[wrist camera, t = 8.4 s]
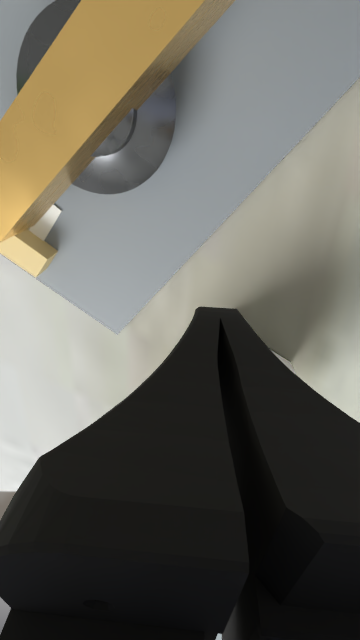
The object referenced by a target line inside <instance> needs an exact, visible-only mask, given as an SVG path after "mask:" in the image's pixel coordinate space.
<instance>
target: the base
mask: <svg viewBox="0 0 360 640" xmlns="http://www.w3.org/2000/svg"><path fill="white" fill-rule="evenodd" d="M54 1H56V0H0V120H1V119H2V117H3V116H4V114H5V113H6V111H7V110H8V109H9V107H10V106H11V104H12V103H13V101H14V100H15V98H16V97H17V80H16V73H17V62H18V57H19V52H20V48H21V45H22V42H23V39H24V36H25V34H26V32H27V30H28V29H29V27H30V25H31V23H32V22H33V21H34V19H35V18H36V17H37V15H38V14H39V13H40V12H41V11H42V10H43V9H44V8H45V7H46V6H48V5H49V4H51V3H52V2H54ZM171 75H172V78H173V82H174V87H175V93H176V104H177V110H176V125H175V132H174V136H173V140H172V143H171V146H170V149H169V151H168V153H167V155H166V157H165V159H164V161H163V163H162V164H161V166H160V167H159V168H158V170H157V171H156V172H155V173H154V174H153V175H152V176H151V177H150V178H149V179H148V180H147V181H145V182H144V183H143V184H141V185H139V186H138V187H136V188H134V189H132V190H129V191H127V192H123V193H119V194H98V193H92V192H89V191H86V190H83V189H81V188H79V187H77V186H74V185H73V184H71V185H70V186H69V187H68V189H67V190H66V191H65V192H64V193H63V194H62V195H61V196H60V197H59V199H58V200H57V201H56V202H55V203H54V204H53V205H52V206H51V208H50V209H49V210H48V211H47V212H46V213H45V214H44V215H43V217H42V218H41V219H40V220H39V221H38V222H37V223H36V224H35V225H34V226H32V227H30V228H28V229H26V230H24V231H22V232H20V233H18V234H16V235H14V236H12V237H10V238H8V239H7V240H5V241H3V242H1V243H0V254H1V255H2V256H4V257H5V258H7V259H8V260H10V261H11V262H13V263H14V264H15V265H17V266H18V267H20V268H21V269H23V270H24V271H26V272H27V273H28V274H30V275H31V276H33V277H34V278H36V279H37V280H39V281H40V282H42V283H43V284H44V285H46V286H47V287H49V288H50V289H52V290H53V291H55V292H56V293H58V294H59V295H60V296H62V297H63V298H65V299H66V300H68V301H69V302H71V303H72V304H73V305H75V306H76V307H78V308H79V309H81V310H82V311H84V312H85V313H87V314H88V315H89V316H91V317H92V318H94V319H95V320H97V321H98V322H100V323H101V324H102V325H104V326H105V327H107V328H108V329H110V330H111V331H113V332H114V333H116V334H118V333H119V332H120V331H121V330H122V329H123V328H124V327H125V326H126V325H127V324H128V323H129V322H130V321H131V320H132V318H133V317H134V316H135V315H136V314H137V313H138V312H139V311H140V310H141V309H142V308H143V307H144V306H145V305H146V304H147V303H148V301H149V300H150V299H151V298H152V297H153V296H154V295H155V294H156V293H157V292H158V291H159V290H160V289H161V288H162V287H163V286H164V284H165V283H166V282H167V281H168V280H169V279H170V278H171V277H172V276H173V275H174V274H175V273H176V272H177V271H178V270H179V269H180V267H181V266H182V265H183V264H184V263H185V262H186V261H187V260H188V259H189V258H190V257H191V256H192V255H193V254H194V253H195V252H196V250H197V249H198V248H199V247H200V246H201V245H202V244H203V243H204V242H205V241H206V240H207V239H208V238H209V237H210V236H211V235H212V233H213V232H214V231H215V230H216V229H217V228H218V227H219V226H220V225H221V224H222V223H223V222H224V221H225V220H226V219H227V218H228V216H229V215H230V214H231V213H232V212H233V211H234V210H235V209H236V208H237V207H238V206H239V205H240V204H241V203H242V202H243V201H244V199H245V198H246V197H247V196H248V195H249V194H250V193H251V192H252V191H253V190H254V189H255V188H256V187H257V186H258V185H259V184H260V182H261V181H262V180H263V179H264V178H265V177H266V176H267V175H268V174H269V173H270V172H271V171H272V170H273V169H274V168H275V167H276V165H277V164H278V163H279V162H280V161H281V160H282V159H283V158H284V157H285V156H286V155H287V154H288V153H289V152H290V151H291V150H292V148H293V147H294V146H295V145H296V144H297V143H298V142H299V141H300V140H301V139H302V138H303V137H304V136H305V135H306V134H307V133H308V131H309V130H310V129H311V128H312V127H313V126H314V125H315V124H316V123H317V122H318V121H319V120H320V119H321V118H322V117H323V116H324V114H325V113H326V112H327V111H328V110H329V109H330V108H331V107H332V106H333V105H334V104H335V103H336V102H337V101H338V100H339V99H340V98H341V96H342V95H343V94H344V93H345V92H346V91H347V90H348V89H349V88H350V87H351V86H352V85H353V84H354V83H355V82H356V81H357V79H358V78H359V77H360V0H235V1H234V2H233V4H232V5H231V6H230V7H229V8H228V9H227V10H226V11H225V13H224V14H223V15H222V16H221V17H220V18H219V19H218V20H217V22H216V23H215V24H214V25H213V26H212V27H211V28H210V29H209V30H208V32H207V33H206V34H205V35H204V36H203V37H202V38H201V39H200V41H199V42H198V43H197V44H196V45H195V46H194V47H193V48H192V50H191V51H190V52H189V53H188V54H187V55H186V56H185V57H184V58H183V60H182V61H181V62H180V63H179V64H178V65H177V66H176V67H175V69H174V70H173V71H172V72H171Z"/></svg>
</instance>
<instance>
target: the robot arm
mask: <svg viewBox="0 0 360 640" xmlns="http://www.w3.org/2000/svg"><path fill="white" fill-rule="evenodd" d="M0 597H1V598H2V599H3V600H4V601H5V602H6V603H7V604H8V605H9V606H10V607H11V610H10V613H9V615H8V618H7V620H6V623H5V625H4V627H3V630H2V632H1V635H0V640H215V639H216V636H217V634H218V633H220V634H222V640H360V423H359V422H357V421H356V420H354V419H353V418H351V417H350V416H348V415H347V414H346V413H344V412H343V411H341V410H340V409H339V408H337V407H336V406H334V405H333V404H332V403H330V402H329V401H328V400H326V399H325V398H324V397H322V396H321V395H320V394H318V393H317V392H316V391H314V390H313V389H312V388H311V387H310V386H308V385H307V384H306V383H305V382H304V381H303V380H301V379H300V378H299V377H298V376H297V375H295V374H294V373H293V372H292V371H291V370H290V369H289V368H288V367H287V366H286V365H285V364H284V363H283V362H282V361H281V360H280V359H279V358H278V357H277V356H276V355H275V354H274V353H273V352H272V351H271V350H270V349H269V348H268V347H267V346H266V345H265V343H264V342H263V341H262V340H261V339H260V338H259V337H258V335H257V334H256V333H255V332H254V330H253V329H252V328H251V327H250V325H249V324H248V323H247V322H246V320H245V319H244V318H243V316H242V315H241V314H240V312H239V311H238V310H237V309H228V308H212V307H198V308H197V309H196V310H195V314H194V317H193V319H192V321H191V323H190V325H189V327H188V328H187V330H186V332H185V333H184V335H183V336H182V338H181V339H180V341H179V342H178V344H177V345H176V346H175V348H174V349H173V350H172V352H171V353H170V354H169V355H168V357H167V358H166V359H165V360H164V361H163V363H162V364H161V365H160V366H159V367H158V368H157V369H156V370H155V371H154V372H153V373H152V374H151V376H150V377H149V378H148V379H146V380H145V381H144V382H143V383H142V384H141V385H140V386H139V387H138V388H137V389H136V390H135V391H134V392H132V393H131V394H130V395H129V396H128V397H127V398H125V399H124V400H123V401H122V402H120V403H119V404H118V405H116V406H115V407H114V408H112V409H111V410H110V411H109V412H107V413H106V414H105V415H103V416H102V417H101V418H99V419H98V420H97V421H95V422H94V423H93V424H91V425H90V426H88V427H87V428H85V429H84V430H82V431H81V432H79V433H78V434H76V435H74V436H73V437H71V438H70V439H68V440H67V441H65V442H63V443H62V444H60V445H59V446H57V447H56V448H54V449H53V450H51V451H49V452H47V453H46V454H44V455H42V456H41V457H39V459H38V460H37V462H36V463H35V465H34V466H33V468H32V469H31V471H30V472H29V474H28V475H27V477H26V478H25V480H24V481H23V482H22V484H21V485H20V487H19V489H18V490H17V492H16V493H15V495H14V496H13V498H12V500H11V502H10V504H9V506H8V508H7V509H6V511H5V513H4V515H3V517H2V519H1V520H0Z"/></svg>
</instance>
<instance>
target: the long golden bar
mask: <svg viewBox="0 0 360 640" xmlns="http://www.w3.org/2000/svg"><path fill="white" fill-rule="evenodd" d="M234 1H235V0H56V1H54V2H52V3H51V4H49V5H48V6H46V7H45V8H44V9H43V10H42V11H41V12H40V13H39V14H38V15H37V17H36V18H35V19H34V21H33V22H32V23H31V25H30V27H29V29H28V30H27V32H26V34H25V36H24V39H23V42H22V45H21V48H20V52H19V57H18V62H17V73H16V80H17V97H16V98H15V100H14V101H13V103H12V104H11V106H10V107H9V109H8V110H7V111H6V113H5V114H4V116H3V117H2V119H1V120H0V243H1V242H3V241H5V240H7V239H8V238H10V237H12V236H14V235H16V234H18V233H20V232H22V231H24V230H26V229H28V228H30V227H32V226H34V225H35V224H36V223H37V222H38V221H39V220H40V219H41V218H42V217H43V215H44V214H45V213H46V212H47V211H48V210H49V209H50V208H51V206H52V205H53V204H54V203H55V202H56V201H57V200H58V199H59V197H60V196H61V195H62V194H63V193H64V192H65V191H66V190H67V189H68V187H69V186H70V185H71V184H73V185H74V186H77V187H79V188H81V189H83V190H86V191H89V192H92V193H98V194H119V193H123V192H127V191H129V190H132V189H134V188H136V187H138V186H139V185H141V184H143V183H144V182H145V181H147V180H148V179H149V178H150V177H151V176H152V175H153V174H154V173H155V172H156V171H157V170H158V168H159V167H160V166H161V164H162V163H163V161H164V159H165V157H166V155H167V153H168V151H169V149H170V146H171V143H172V140H173V136H174V132H175V125H176V110H177V104H176V93H175V87H174V82H173V78H172V75H171V72H172V71H173V70H174V69H175V67H176V66H177V65H178V64H179V63H180V62H181V61H182V60H183V58H184V57H185V56H186V55H187V54H188V53H189V52H190V51H191V50H192V48H193V47H194V46H195V45H196V44H197V43H198V42H199V41H200V39H201V38H202V37H203V36H204V35H205V34H206V33H207V32H208V30H209V29H210V28H211V27H212V26H213V25H214V24H215V23H216V22H217V20H218V19H219V18H220V17H221V16H222V15H223V14H224V13H225V11H226V10H227V9H228V8H229V7H230V6H231V5H232V4H233V2H234Z"/></svg>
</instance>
